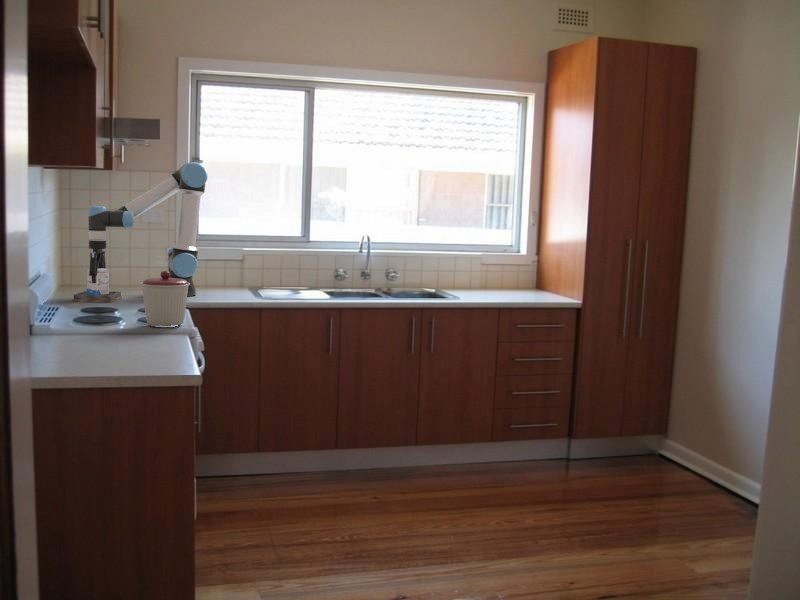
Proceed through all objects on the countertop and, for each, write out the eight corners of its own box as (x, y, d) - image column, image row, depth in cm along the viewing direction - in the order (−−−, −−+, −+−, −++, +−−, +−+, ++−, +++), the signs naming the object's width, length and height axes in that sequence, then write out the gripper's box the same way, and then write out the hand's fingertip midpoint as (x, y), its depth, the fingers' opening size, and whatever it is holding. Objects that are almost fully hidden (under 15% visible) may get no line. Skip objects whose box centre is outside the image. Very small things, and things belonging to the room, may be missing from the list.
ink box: (92, 295, 377) (92, 269, 375) (86, 294, 380) (86, 268, 378) (109, 294, 384) (109, 268, 382) (103, 293, 387) (102, 267, 385)
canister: (197, 324, 323) (197, 270, 320) (176, 331, 305) (177, 274, 303) (154, 321, 326) (154, 267, 324) (131, 328, 309) (131, 271, 306)
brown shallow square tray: (122, 297, 391) (122, 291, 391) (111, 302, 374) (111, 295, 374) (85, 296, 390) (85, 290, 390) (72, 301, 373) (72, 294, 373)
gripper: (96, 238, 389) (97, 286, 392) (81, 241, 368) (81, 291, 371) (113, 239, 390) (113, 286, 393) (98, 241, 368) (98, 291, 371)
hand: (98, 288), depth 382 cm, fingers closed on ink box, 9 cm apart
